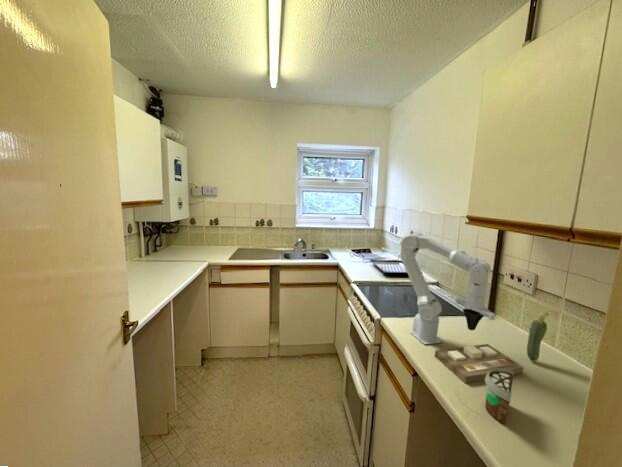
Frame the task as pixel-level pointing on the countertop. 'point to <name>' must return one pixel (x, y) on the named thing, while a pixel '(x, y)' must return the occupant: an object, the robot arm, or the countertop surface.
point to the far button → (488, 351)
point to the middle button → (472, 352)
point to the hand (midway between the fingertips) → (471, 329)
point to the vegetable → (536, 337)
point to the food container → (498, 393)
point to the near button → (456, 355)
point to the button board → (477, 364)
